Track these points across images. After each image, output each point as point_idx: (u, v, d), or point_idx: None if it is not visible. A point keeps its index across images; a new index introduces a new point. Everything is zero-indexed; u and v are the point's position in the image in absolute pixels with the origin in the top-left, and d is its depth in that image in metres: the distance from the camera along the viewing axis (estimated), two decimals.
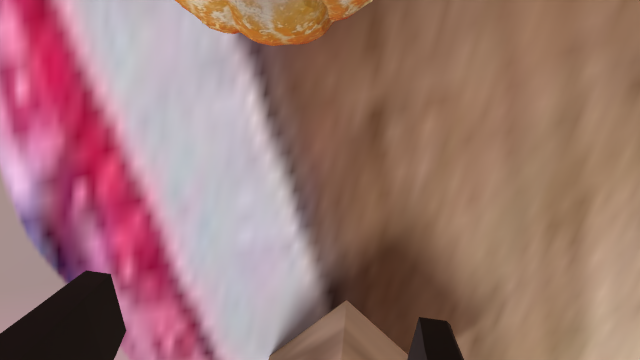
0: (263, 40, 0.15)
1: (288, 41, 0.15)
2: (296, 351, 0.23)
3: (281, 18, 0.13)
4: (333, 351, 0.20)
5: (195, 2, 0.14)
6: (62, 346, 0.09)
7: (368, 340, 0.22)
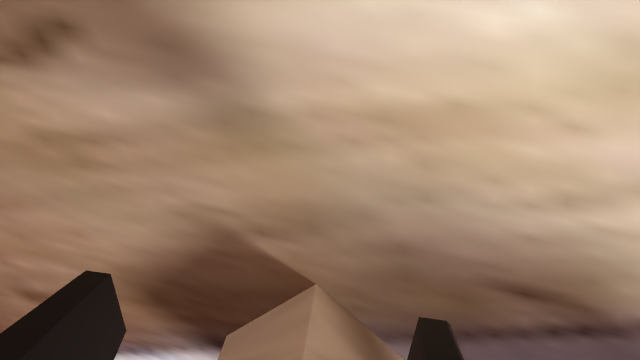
0: None
1: None
2: None
3: None
4: None
5: None
6: (62, 346, 0.09)
7: (240, 350, 0.20)
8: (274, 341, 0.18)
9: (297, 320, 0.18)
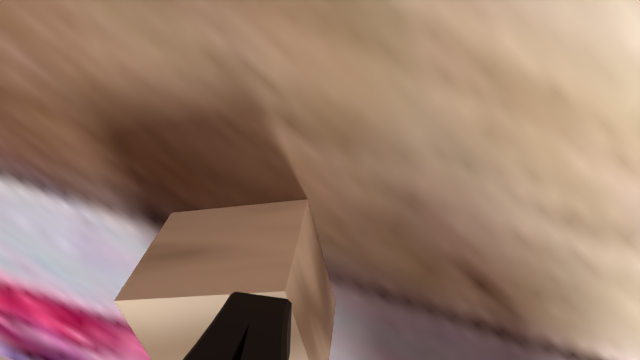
0: None
1: None
2: None
3: None
4: None
5: None
6: None
7: (195, 232, 0.18)
8: (247, 236, 0.17)
9: (282, 226, 0.17)
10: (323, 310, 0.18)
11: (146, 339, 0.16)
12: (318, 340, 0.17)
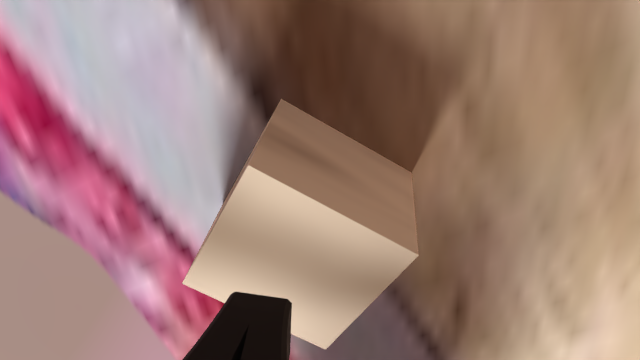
0: None
1: None
2: (236, 180, 0.18)
3: None
4: (254, 150, 0.15)
5: None
6: None
7: (313, 138, 0.16)
8: (368, 176, 0.16)
9: (397, 186, 0.17)
10: None
11: (231, 215, 0.14)
12: None
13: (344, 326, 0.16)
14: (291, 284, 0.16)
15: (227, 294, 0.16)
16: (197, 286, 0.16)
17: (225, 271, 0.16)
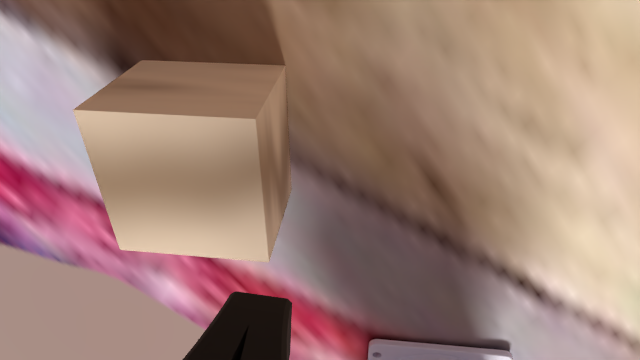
0: None
1: None
2: None
3: None
4: None
5: None
6: None
7: (165, 74, 0.17)
8: (221, 82, 0.16)
9: (257, 79, 0.17)
10: (281, 181, 0.19)
11: (99, 163, 0.16)
12: (273, 201, 0.17)
13: (262, 229, 0.16)
14: (190, 207, 0.16)
15: (156, 243, 0.17)
16: (131, 247, 0.18)
17: (136, 220, 0.17)
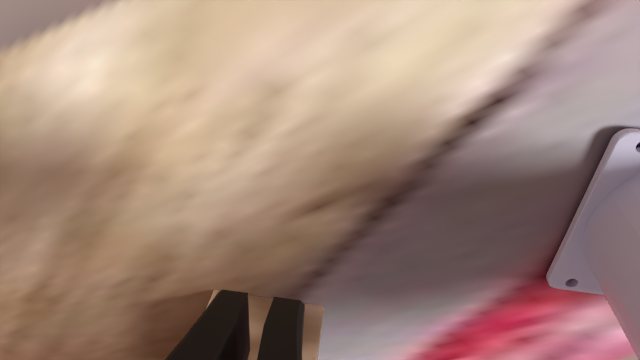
0: None
1: None
2: None
3: None
4: None
5: None
6: None
7: None
8: None
9: None
10: None
11: None
12: None
13: None
14: None
15: None
16: None
17: None
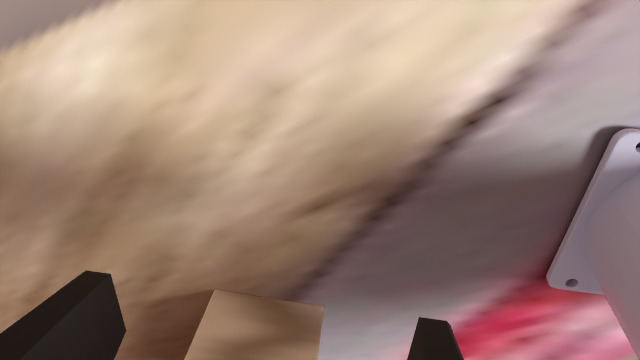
0: None
1: None
2: None
3: None
4: None
5: None
6: (62, 346, 0.09)
7: None
8: None
9: None
10: (284, 331, 0.22)
11: None
12: (277, 357, 0.21)
13: None
14: None
15: None
16: None
17: None
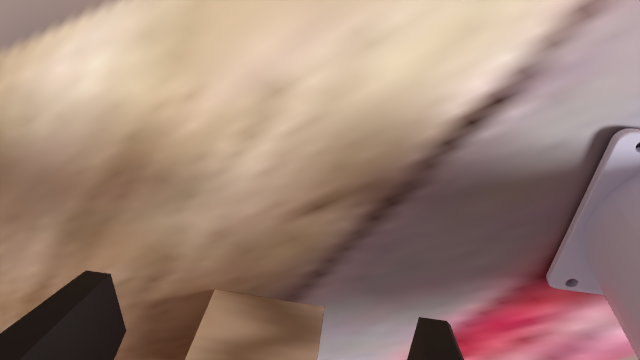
0: None
1: None
2: None
3: None
4: None
5: None
6: (62, 346, 0.09)
7: None
8: None
9: None
10: (285, 331, 0.22)
11: None
12: (277, 358, 0.21)
13: None
14: None
15: None
16: None
17: None
